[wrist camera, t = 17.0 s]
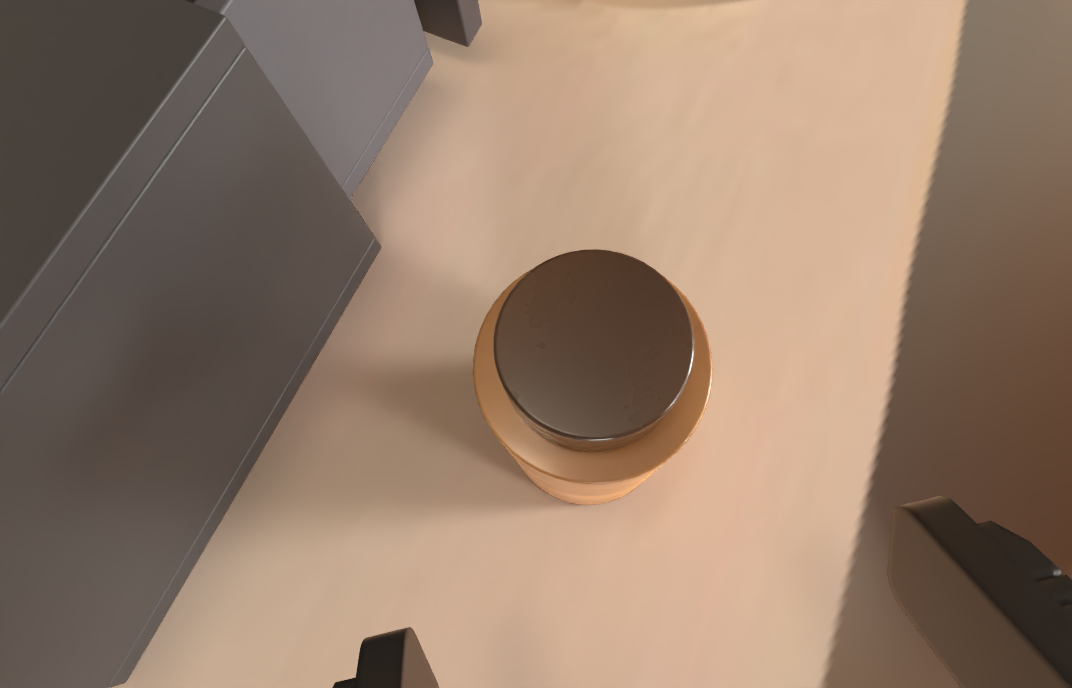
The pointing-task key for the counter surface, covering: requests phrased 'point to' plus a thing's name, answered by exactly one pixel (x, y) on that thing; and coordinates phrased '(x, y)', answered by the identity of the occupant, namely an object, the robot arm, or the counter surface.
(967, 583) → the robot arm
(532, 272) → the pepper mill
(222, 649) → the counter surface
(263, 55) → the drawer
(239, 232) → the small drawer unit
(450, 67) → the counter surface
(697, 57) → the counter surface
